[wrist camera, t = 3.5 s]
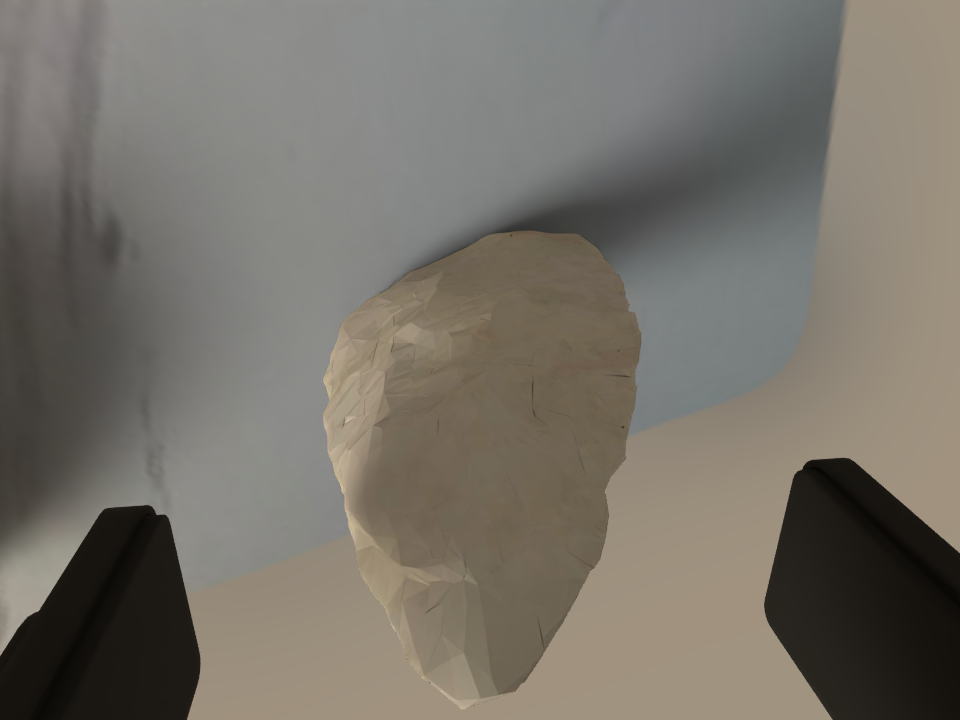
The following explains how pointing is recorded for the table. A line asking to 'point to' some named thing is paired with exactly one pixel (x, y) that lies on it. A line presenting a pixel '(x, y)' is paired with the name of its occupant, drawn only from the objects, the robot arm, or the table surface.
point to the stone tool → (483, 448)
